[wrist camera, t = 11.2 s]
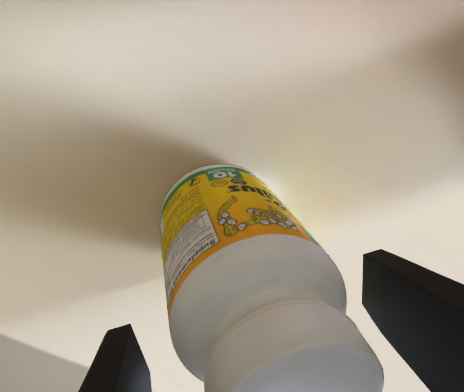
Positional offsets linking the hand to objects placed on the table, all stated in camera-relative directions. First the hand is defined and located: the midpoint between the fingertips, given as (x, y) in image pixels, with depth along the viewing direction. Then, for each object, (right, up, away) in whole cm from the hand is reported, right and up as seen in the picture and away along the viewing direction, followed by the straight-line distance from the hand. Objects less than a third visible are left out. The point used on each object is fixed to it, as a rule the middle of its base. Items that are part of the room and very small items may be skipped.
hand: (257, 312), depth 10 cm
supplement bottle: (-2, +3, +6) cm, 7 cm away
